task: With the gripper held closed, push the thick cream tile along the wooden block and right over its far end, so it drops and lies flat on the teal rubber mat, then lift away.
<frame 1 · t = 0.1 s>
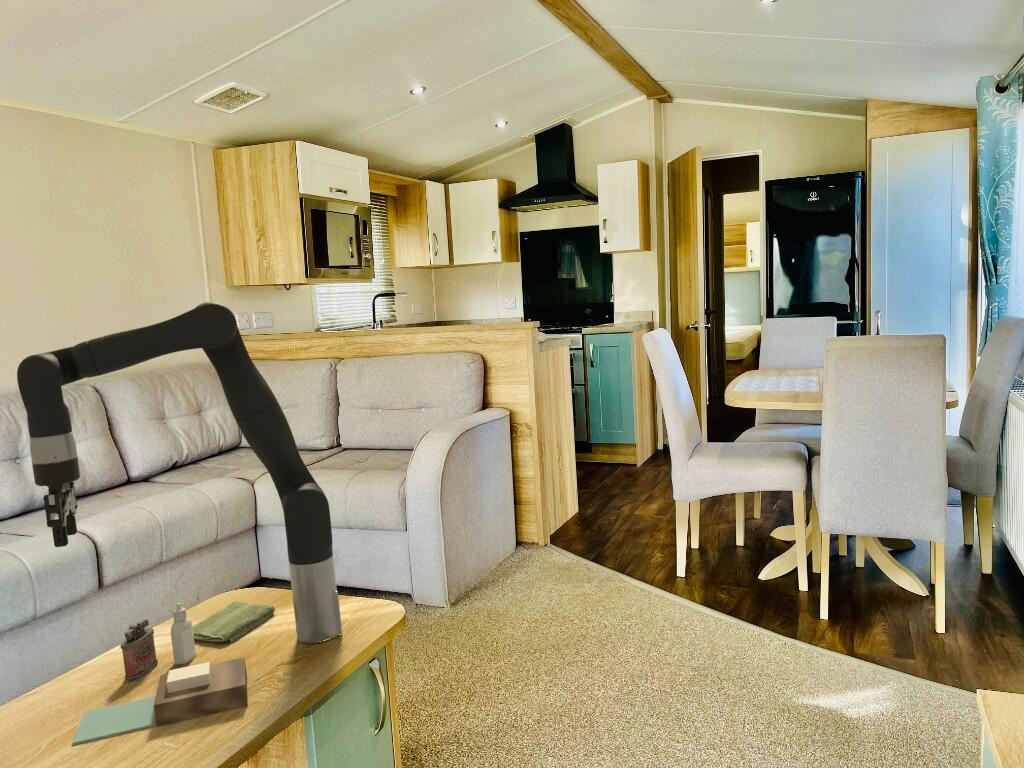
hand: (66, 540, 148), 29 cm above the table, tool pointing down, fingers open, 8 cm apart
lighter: (142, 673, 154), on the table
washcloth: (232, 629, 174), on the table
eye dropper bottle: (185, 660, 159), on the table
mat: (120, 719, 136), on the table
wooden block: (204, 700, 140), on the table
tile: (190, 682, 139), point 4 cm above the table, touching wooden block
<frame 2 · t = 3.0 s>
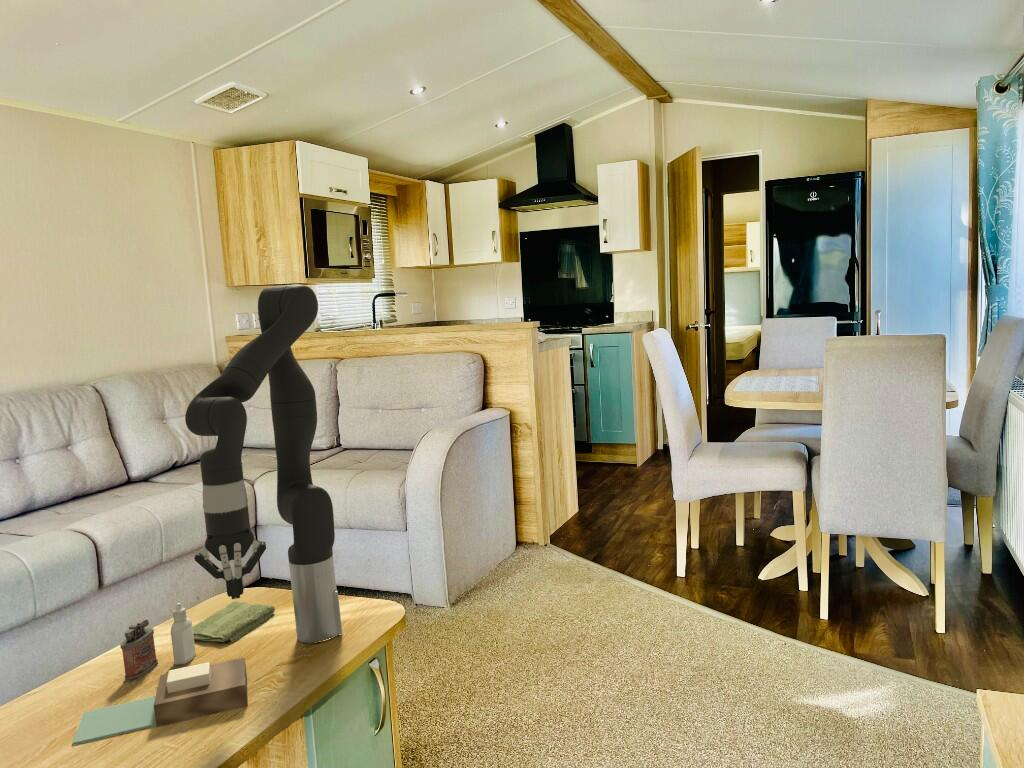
hand: (235, 597, 141), 18 cm above the table, tool pointing down, fingers closed
nothing on the table moved.
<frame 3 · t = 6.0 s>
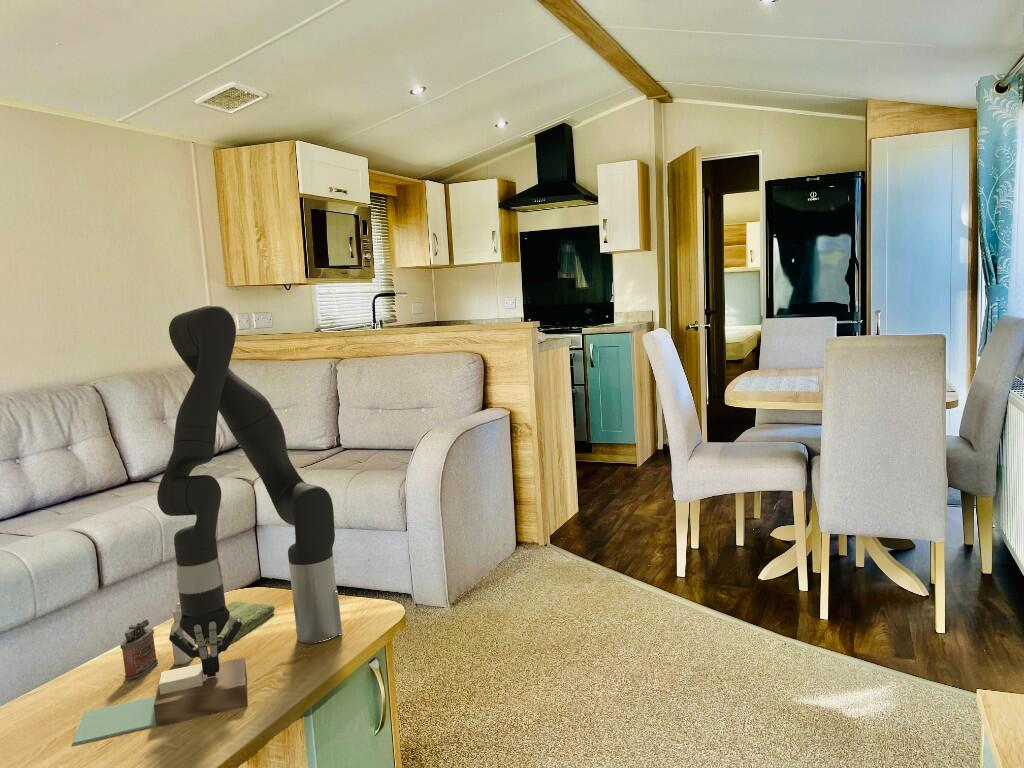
hand: (211, 674, 140), 5 cm above the table, tool pointing down, fingers closed
tile: (182, 683, 139), point 4 cm above the table, touching wooden block, gripper
everything else where it was.
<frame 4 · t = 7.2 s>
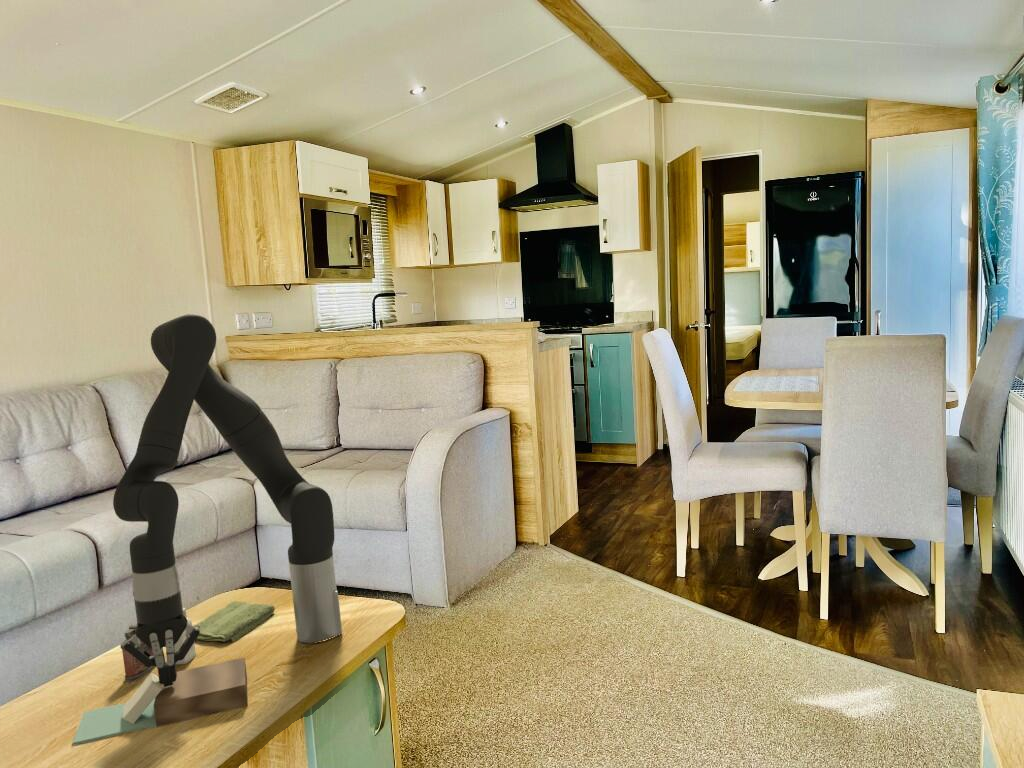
hand: (168, 684, 138), 5 cm above the table, tool pointing down, fingers closed
tile: (147, 700, 136), point 3 cm above the table, tilted 43°, touching gripper, mat
everything else where it was.
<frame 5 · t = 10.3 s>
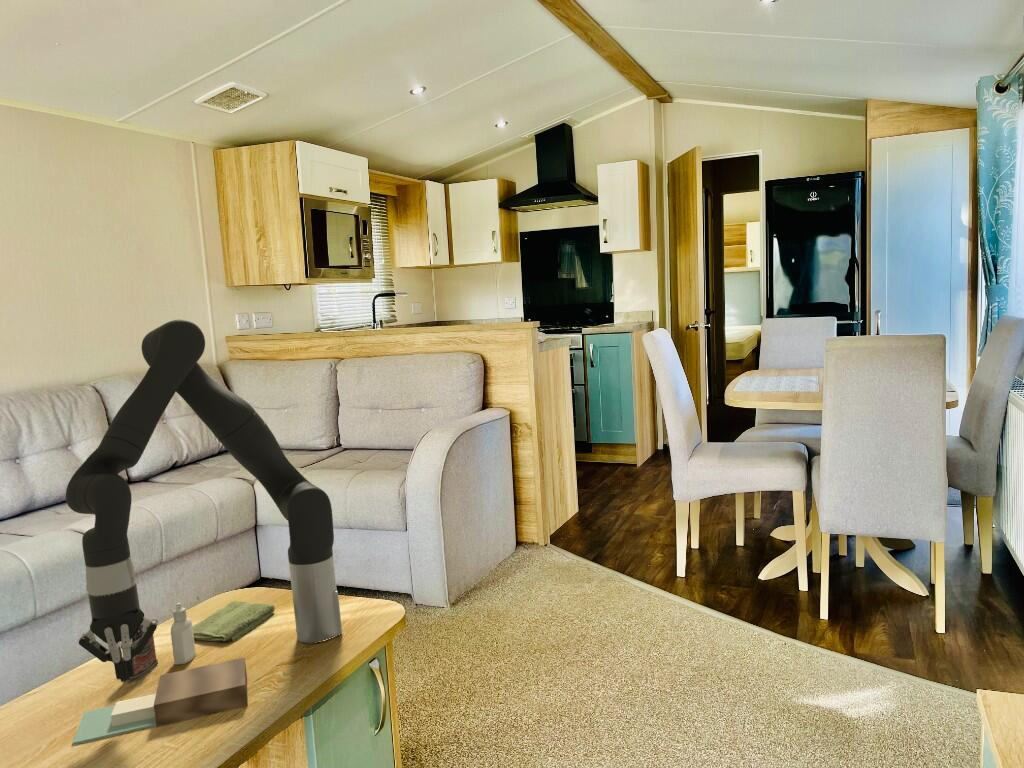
hand: (126, 679, 135), 7 cm above the table, tool pointing down, fingers closed
tile: (136, 714, 136), resting on mat
everything else where it was.
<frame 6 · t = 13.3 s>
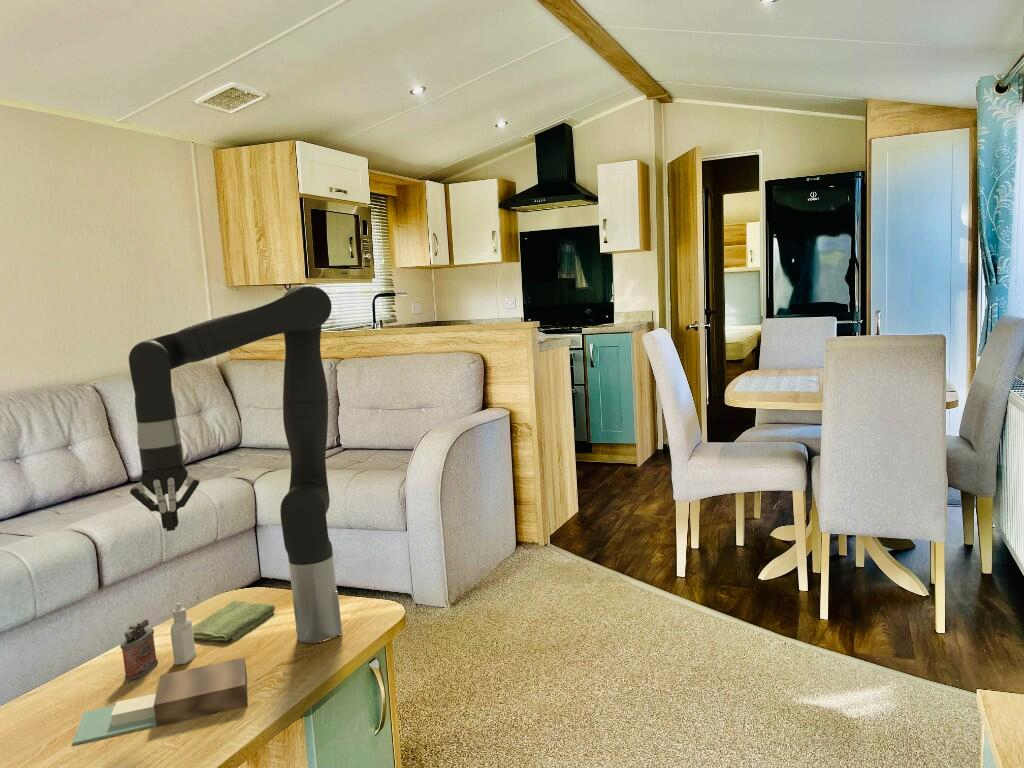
hand: (171, 529, 150), 29 cm above the table, tool pointing down, fingers closed
nothing on the table moved.
at the end: tile inside the target area (3.3 cm from its centre), resting on mat; tile touching mat; tile tilted 0° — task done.
